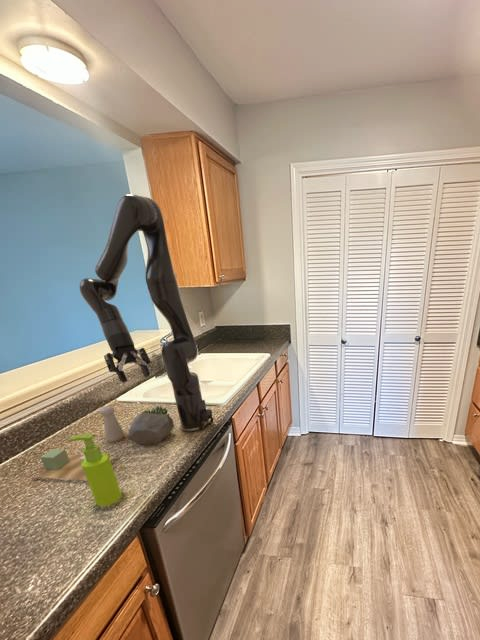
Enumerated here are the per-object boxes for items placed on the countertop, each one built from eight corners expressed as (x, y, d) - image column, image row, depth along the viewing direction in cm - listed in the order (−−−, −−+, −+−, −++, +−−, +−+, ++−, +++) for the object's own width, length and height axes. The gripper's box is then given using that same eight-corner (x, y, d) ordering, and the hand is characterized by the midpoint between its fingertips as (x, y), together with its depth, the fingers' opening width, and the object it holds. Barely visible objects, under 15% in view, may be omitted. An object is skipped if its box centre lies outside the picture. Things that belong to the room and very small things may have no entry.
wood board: (116, 459, 104) (115, 456, 103) (89, 482, 93) (88, 479, 93) (67, 456, 106) (66, 454, 106) (35, 479, 96) (33, 477, 95)
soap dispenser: (99, 495, 88) (75, 430, 79) (125, 493, 88) (104, 428, 80) (88, 510, 82) (61, 443, 74) (116, 508, 83) (92, 440, 75)
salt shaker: (117, 445, 112) (106, 411, 106) (103, 444, 113) (92, 410, 108) (128, 436, 117) (119, 404, 112) (115, 435, 118) (105, 403, 113)
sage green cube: (70, 461, 102) (65, 449, 100) (58, 470, 98) (53, 457, 96) (57, 461, 103) (52, 448, 101) (45, 469, 98) (40, 457, 97)
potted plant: (120, 441, 107) (136, 411, 119) (157, 456, 113) (169, 426, 124) (134, 420, 101) (149, 391, 113) (172, 437, 107) (183, 407, 118)
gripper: (102, 333, 104) (122, 380, 105) (141, 329, 115) (159, 372, 117) (91, 341, 108) (111, 387, 109) (131, 337, 119) (148, 378, 121)
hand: (136, 379), depth 113 cm, fingers open, 8 cm apart
